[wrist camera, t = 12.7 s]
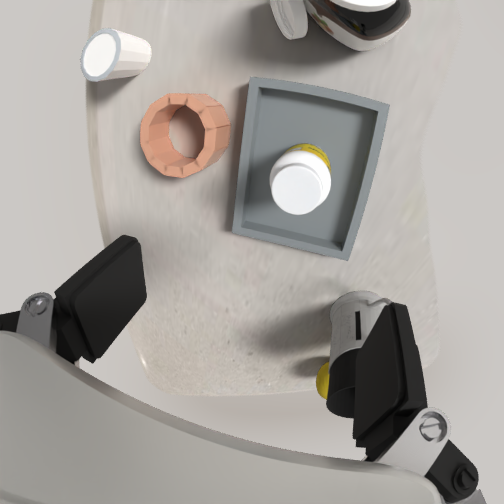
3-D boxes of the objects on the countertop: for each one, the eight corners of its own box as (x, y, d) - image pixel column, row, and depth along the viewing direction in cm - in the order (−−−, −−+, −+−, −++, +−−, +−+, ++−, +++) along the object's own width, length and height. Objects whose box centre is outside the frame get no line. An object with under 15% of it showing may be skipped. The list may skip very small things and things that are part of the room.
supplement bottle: (339, 178, 29) (342, 209, 21) (296, 196, 31) (281, 234, 23) (316, 133, 27) (311, 145, 19) (273, 154, 30) (248, 176, 21)
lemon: (335, 346, 42) (332, 386, 35) (357, 361, 42) (356, 400, 36) (312, 360, 45) (305, 399, 38) (333, 374, 45) (330, 411, 39)
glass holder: (322, 329, 41) (311, 414, 28) (351, 250, 33) (356, 338, 21) (374, 340, 39) (377, 423, 27) (412, 265, 32) (441, 352, 19)
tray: (256, 79, 26) (250, 76, 24) (384, 105, 24) (389, 104, 22) (238, 223, 36) (231, 232, 33) (347, 249, 34) (347, 261, 31)
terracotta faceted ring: (163, 93, 29) (142, 94, 26) (234, 96, 28) (220, 95, 24) (159, 163, 34) (140, 171, 30) (226, 172, 33) (211, 182, 29)
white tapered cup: (131, 90, 30) (95, 93, 24) (108, 62, 28) (72, 61, 22) (164, 53, 27) (130, 47, 21) (138, 25, 25) (103, 18, 19)
